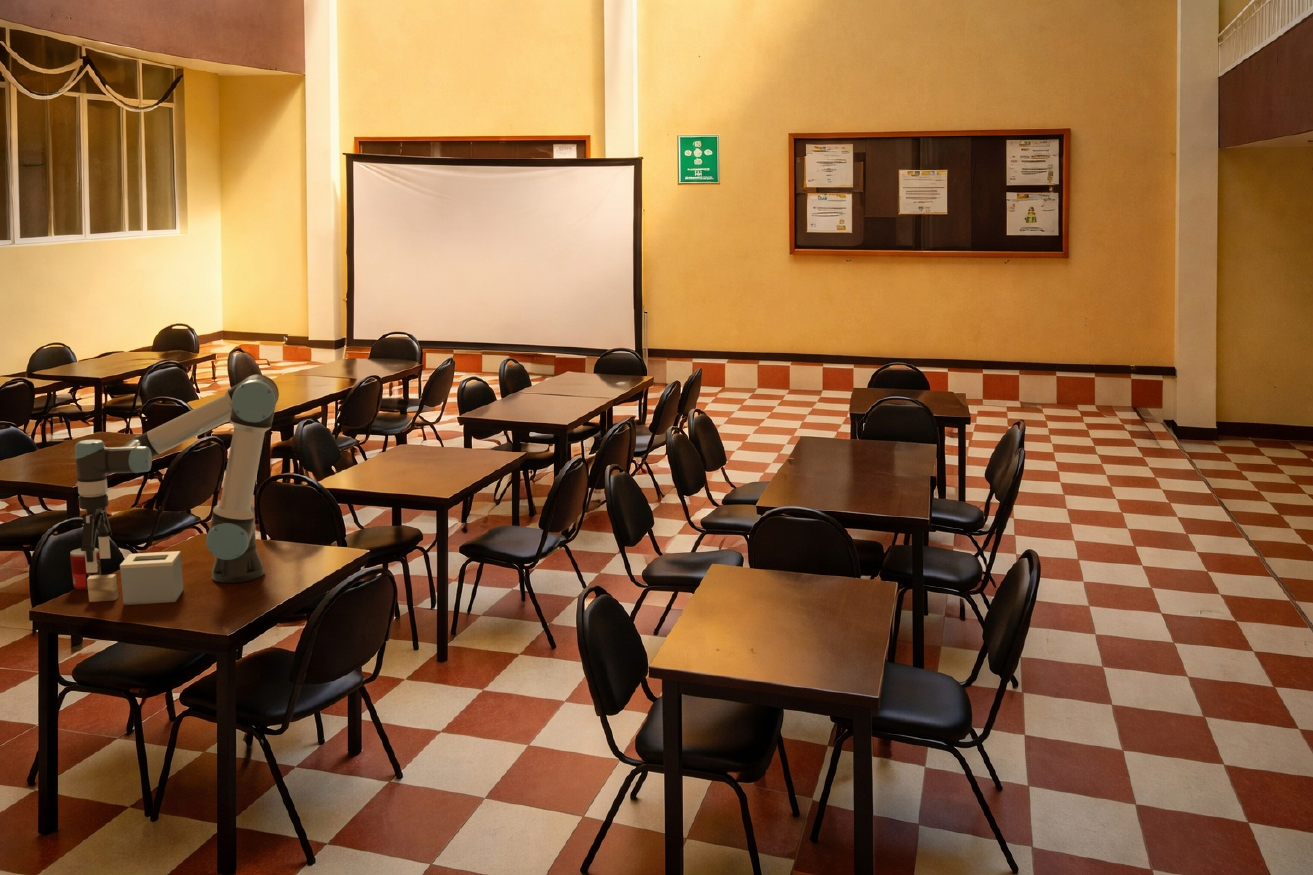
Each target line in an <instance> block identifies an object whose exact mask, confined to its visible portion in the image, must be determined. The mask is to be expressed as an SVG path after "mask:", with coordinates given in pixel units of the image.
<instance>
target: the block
mask: <svg viewBox="0 0 1313 875" xmlns="http://www.w3.org/2000/svg"><path fill="white" fill-rule="evenodd" d="M117 581H118V580H117V574H116V573H115V574H111V573H110V574H101V575H94V576H89V577H88V578H87V585H88V589H87V591H88V592H87V594H88V601H89V602H90V603H92V602H93V603H95V602H96V603H97V602H108V601H116V600H117V599H118V597H119V594H118V593H119V591H118V584H117Z"/></svg>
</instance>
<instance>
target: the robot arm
mask: <svg viewBox="0 0 1313 875" xmlns="http://www.w3.org/2000/svg"><path fill="white" fill-rule="evenodd" d="M279 394H280V392H279V388H278V385H277V384H276V382H275V381H274V380H273V379H271V378H270V377H269V376H266V375H264V374H263V375H262V374H252V375H250V376H247V377H246V378H244V379H242V380H241V381H240V382H238V383H237V384H235V385H233V386H232V387H229V388H227V389H226V392H225V394H223V395H221V396H219V397H217V398H214V399H213V400H211V401H208V402H206V403H204V404H202V405H200V406H198V407H196V408H194V409H191V410H190V411H187V412H186V413H183V414H181V415H179V416H178V417H175V418H173V419H171V420H169V421H167V422H165V423H162V424H161V425H158V426H156V427H155V428H152V429H150V430H148V431H146V432H144V433H142V434H141V435H136V436H133V437H131V438H130V439H128V440H127V442H126V443H125V444H124V445H123V446H114V447H113V446H112V447H111V446H107V447H106V445H105V443H104V441H103V440H101V439H85V440H79V441H78V442H76V444H75V445H74V453H75V454H74V456H75V457H74V460H75V469H76V479H77V482H76V483H75V486H76V487H77V490H78V491H77V493H78V494H79V496H78V507H79V508H80V509H81V510H85V511H86V514H85V515H82V522H83V524H82V539H81V540H82V541H81V547H80V548H81V551H85V561H86V573H94V572H98V571H97V559H96V550H94V549H95V548H96V547H95V546H96V540H97V539H98V549H99V555H100V560H101V559H111V547H110V546H111V545H110V544H111V543H110V536H112V535H113V532H112V528H111V525H110V522H109V518H108V513H107V507H108V506H109V495H108V491H109V490H108V479H107V474H133V473H135V474H139V473H146V472H149V471H151V468H152V463H153V458H155V457H157V456H159V455H160V454H161V455H162V454H163V453H165V452H167V451H169V450H171V449H173V448H175V447H177V446H180V445H182V444H183V443H186V442H187V441H190V440H192V439H194V438H196V437H198V436H200V435H202V434H204V433H207V432H208V431H210V430H213V429H214V428H217V427H218V426H222V425H224V424H225V423H227V422H230V424H232V426H233V432H232V437H231V442H230V447H229V453H228V459H227V464H226V468H225V475H224V480H223V485H222V491H221V495H220V501H219V504H218V505H215V506H213V509H212V515H211V520H210V524H209V525H210V526H209V530H208V531H207V534H206V537H205V541H206V547H207V549H208V551H209V552H210V553H211V554H212V555H213V556H214V557H215V559H214V562H213V566H212V569H211V578H212V580H213V581H215V582H216V583H217V582H218V583H223V584H235V583H236V584H237V583H245V582H249V581H253V580H256V579H259V578H261V577H262V576H264V574H265V568H264V564H263V561H262V559H261V557H260V555H259V552H258V550H257V540H256V539H257V537H256V526H255V514H256V512H255V510H254V505H253V504H252V501H253V496H254V491H255V486H256V481H257V475H258V472H259V471H258V470H259V465H260V460H261V459H260V458H261V455H262V450H263V444H264V440H265V439H264V438H265V433H266V432H267V431H269V430H270V429H272V426H273V421H274V415H275V412H276V411H275V410H276V405H277V403H278V401H279V396H280V395H279ZM97 534H98V535H99V536H98V538H97Z"/></svg>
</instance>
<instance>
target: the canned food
mask: <svg viewBox="0 0 1313 875" xmlns="http://www.w3.org/2000/svg"><path fill="white" fill-rule="evenodd" d="M81 548H82V547H79V548H77V549H73V550H71V551H70V554H69V556H70V564H71V574H72V575H71V576H72V583H73V588H74V589H76V590H82V591H83V590H84V591H85V590H88V585H87V578H88V577H89V576H94V575H102V567H101V559H100V552H99V547H98V548H97V547H95V549H94V550H96V559H97V571H98V572H94V573H86V561H85V551H81Z"/></svg>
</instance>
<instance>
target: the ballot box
mask: <svg viewBox="0 0 1313 875" xmlns="http://www.w3.org/2000/svg"><path fill="white" fill-rule="evenodd" d="M119 570H120V580H121V582H120V583H121V590H122V601H123V606H128V605H129V606H130V605H132V606H133V605H146V604H159V603H161V604H164V603H175V602H177V600H178V599H179V597H180V596H181V595H182V593H183V591H184V580H183V578H184V577H183V567H182V555H181V550H178V551H175V550H174V551H161V552H160V551H158V552H157V551H155V552H142V553H141V552H139V553H129V554H128V555H127V556H126V557H125V558H124V560H123V561H122V562H121V563H120V564H119Z"/></svg>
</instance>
